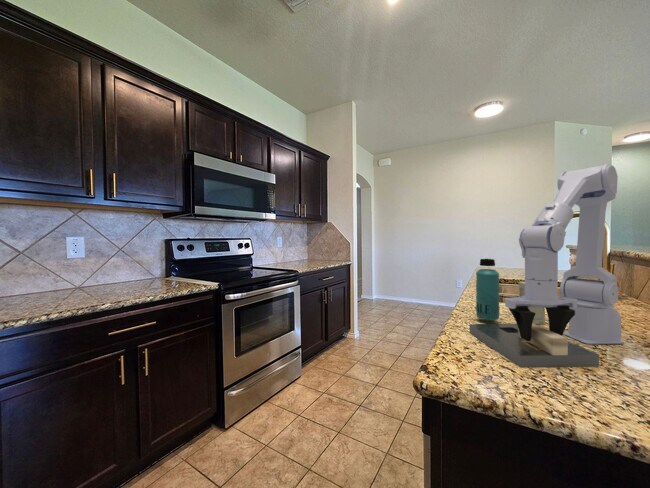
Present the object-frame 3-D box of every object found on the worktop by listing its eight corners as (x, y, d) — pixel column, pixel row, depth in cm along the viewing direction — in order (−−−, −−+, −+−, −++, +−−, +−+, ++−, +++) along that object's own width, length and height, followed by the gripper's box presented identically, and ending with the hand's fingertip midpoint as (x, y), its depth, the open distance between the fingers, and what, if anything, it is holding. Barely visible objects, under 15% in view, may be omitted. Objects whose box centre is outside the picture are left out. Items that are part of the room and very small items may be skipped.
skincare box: (545, 325, 80) (545, 285, 80) (529, 324, 81) (529, 284, 81) (533, 319, 87) (533, 281, 86) (518, 318, 88) (518, 281, 87)
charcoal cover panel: (526, 332, 75) (527, 323, 75) (598, 366, 55) (598, 354, 55) (469, 333, 75) (469, 323, 75) (520, 367, 55) (520, 355, 55)
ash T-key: (567, 366, 55) (567, 338, 55) (552, 366, 55) (552, 338, 55) (530, 346, 65) (530, 322, 65) (518, 346, 65) (518, 322, 65)
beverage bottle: (499, 320, 86) (499, 258, 85) (499, 326, 80) (499, 259, 80) (476, 317, 89) (476, 257, 89) (475, 323, 84) (474, 259, 83)
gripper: (558, 275, 64) (557, 332, 64) (496, 276, 64) (496, 333, 64) (586, 280, 57) (586, 344, 57) (517, 281, 57) (517, 345, 57)
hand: (540, 339), depth 60 cm, fingers open, 6 cm apart
